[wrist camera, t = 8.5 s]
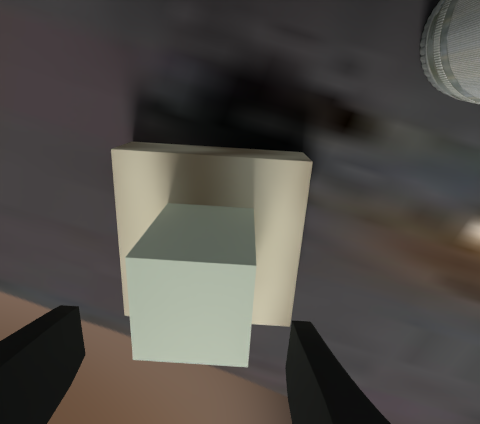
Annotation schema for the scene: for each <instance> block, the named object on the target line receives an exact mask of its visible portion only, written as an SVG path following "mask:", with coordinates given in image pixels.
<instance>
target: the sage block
mask: <svg viewBox="0 0 480 424" xmlns="http://www.w3.org/2000/svg"><path fill="white" fill-rule="evenodd" d="M125 261H126V274H127V287H128V301H129V314H130V327H131V340H132V352H133V360H146V361H161V362H176V363H191V364H207V365H222V366H238V367H248V358H249V347H250V335H251V323H252V312H253V300H254V288H255V277H256V246H255V226H254V208H240V207H224V206H208V205H192V204H176V203H168V204H167V205H166V206H165V207H164V209H163V210H162V211H161V212H160V214H159V215H158V216H157V218H156V219H155V220H154V221H153V223H152V224H151V225H150V226H149V228H148V229H147V230H146V232H145V233H144V234H143V235H142V237H141V238H140V239H139V241H138V242H137V243H136V244H135V246H134V247H133V248H132V249H131V251H130V252H129V253H128V255H127V256H126V257H125Z"/></svg>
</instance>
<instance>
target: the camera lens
mask: <svg viewBox="0 0 480 424" xmlns="http://www.w3.org/2000/svg"><path fill="white" fill-rule="evenodd" d="M420 46H421V49H420V54H421V57H420V61H421V62H422V68H423V69H424V74H425V75H426V76H427V79H428V81H430V82H431V84H432V86H434V87H436V89H437V90H439V91H442V93H444V94H447V95H449V96H451V97H453V98H455V99H458V100H462V101H468V102H471V103H476V104H480V0H440V1H439V2H438V4H437V6H436V7H435V8H434V9H433V11H432V13H431V15H430V16H429V17H428V21H427V23H426V24H425V26H424V31H423V33H422V40H421V42H420Z"/></svg>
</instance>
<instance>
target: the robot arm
mask: <svg viewBox="0 0 480 424" xmlns="http://www.w3.org/2000/svg"><path fill="white" fill-rule="evenodd" d="M84 356H85V348H84V342H83V335H82V327H81V320H80V313H79V307H78V306H63V305H61V306H59V307H57V308H55V309H53V310H51V311H50V312H48V313H46V314H44V315H43V316H41V317H39V318H38V319H36V320H35V321H33V322H31V323H30V324H28V325H26V326H25V327H23V328H21V329H20V330H18V331H17V332H15V333H13V334H11V335H10V336H8V337H6V338H5V339H3V340H1V341H0V424H47V423H48V421H49V420H50V418H51V416H52V415H53V413H54V412H55V410H56V408H57V407H58V405H59V404H60V402H61V400H62V399H63V397H64V395H65V394H66V392H67V391H68V389H69V387H70V386H71V384H72V381H73V380H74V378H75V376H76V373H77V372H78V369H79V367H80V365H81V363H82V361H83V359H84ZM286 381H287V393H288V402H289V407H290V413H291V418H292V424H391V423H390V422H389V421H388V420H387V419H386V418H385V417H384V416H383V415H382V414H381V413H380V412H379V411H378V409H377V408H376V407H375V406H374V405H373V404H372V403H371V402H370V400H369V399H368V398H367V397H366V396H365V394H364V393H363V392H362V391H361V390H360V388H359V387H358V386H357V385H356V384H355V382H354V381H353V380H352V379H351V377H350V376H349V375H348V373H347V372H346V371H345V369H344V368H343V367H342V366H341V364H340V363H339V362H338V360H337V359H336V358H335V356H334V355H333V353H332V352H331V351H330V349H329V348H328V346H327V345H326V343H325V342H324V341H323V339H322V338H321V336H320V335H319V333H318V332H317V330H316V329H315V327H314V326H313V324H312V323H311V322H306V321H292V325H291V332H290V339H289V346H288V354H287V361H286Z"/></svg>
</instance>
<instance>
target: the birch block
mask: <svg viewBox="0 0 480 424" xmlns="http://www.w3.org/2000/svg"><path fill="white" fill-rule="evenodd" d="M111 154H112V166H113V178H114V191H115V203H116V215H117V227H118V240H119V252H120V264H121V276H122V288H123V301H124V313H125V316H130V314H129V301H128V287H127V274H126V261H125V257H126V256H127V255H128V253H129V252H130V251H131V249H132V248H133V247H134V246H135V244H136V243H137V242H138V241H139V239H140V238H141V237H142V235H143V234H144V233H145V232H146V230H147V229H148V228H149V226H150V225H151V224H152V223H153V221H154V220H155V219H156V218H157V216H158V215H159V214H160V212H161V211H162V210H163V209H164V207H165V206H166V205H167V204H168V203H176V204H192V205H208V206H224V207H240V208H254V226H255V246H256V277H255V288H254V300H253V312H252V323H251V324H260V325H275V326H290V322H291V315H292V307H293V300H294V293H295V286H296V278H297V271H298V264H299V257H300V250H301V242H302V235H303V228H304V221H305V213H306V206H307V199H308V192H309V184H310V177H311V170H312V163H313V162H312V161H311V160H310V159H309V158H308V157H307V156H306V155H305V154H304V153H303V152H290V151H274V150H258V149H243V148H227V147H211V146H195V145H179V144H163V143H147V142H130V143H127V144H124V145H121V146H119V147H116V148H113V149H111Z"/></svg>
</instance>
